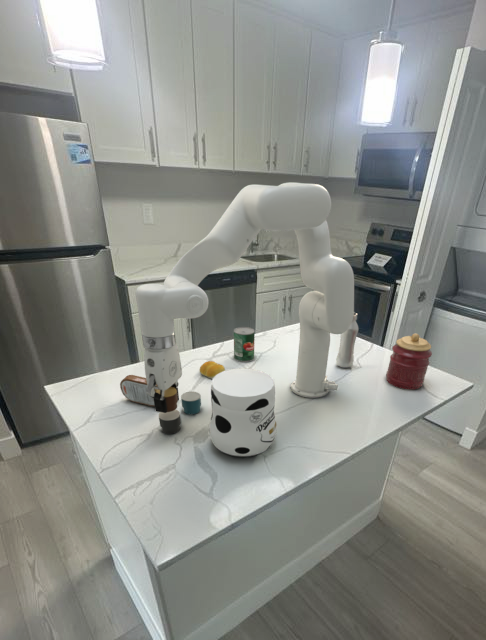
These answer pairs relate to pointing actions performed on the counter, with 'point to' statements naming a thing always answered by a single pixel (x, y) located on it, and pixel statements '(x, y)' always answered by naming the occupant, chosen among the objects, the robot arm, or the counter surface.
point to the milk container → (243, 412)
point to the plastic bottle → (347, 345)
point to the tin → (136, 390)
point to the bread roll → (211, 369)
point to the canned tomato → (244, 344)
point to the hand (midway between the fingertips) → (167, 405)
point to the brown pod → (170, 398)
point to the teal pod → (191, 402)
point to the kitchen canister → (409, 362)
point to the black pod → (170, 421)
